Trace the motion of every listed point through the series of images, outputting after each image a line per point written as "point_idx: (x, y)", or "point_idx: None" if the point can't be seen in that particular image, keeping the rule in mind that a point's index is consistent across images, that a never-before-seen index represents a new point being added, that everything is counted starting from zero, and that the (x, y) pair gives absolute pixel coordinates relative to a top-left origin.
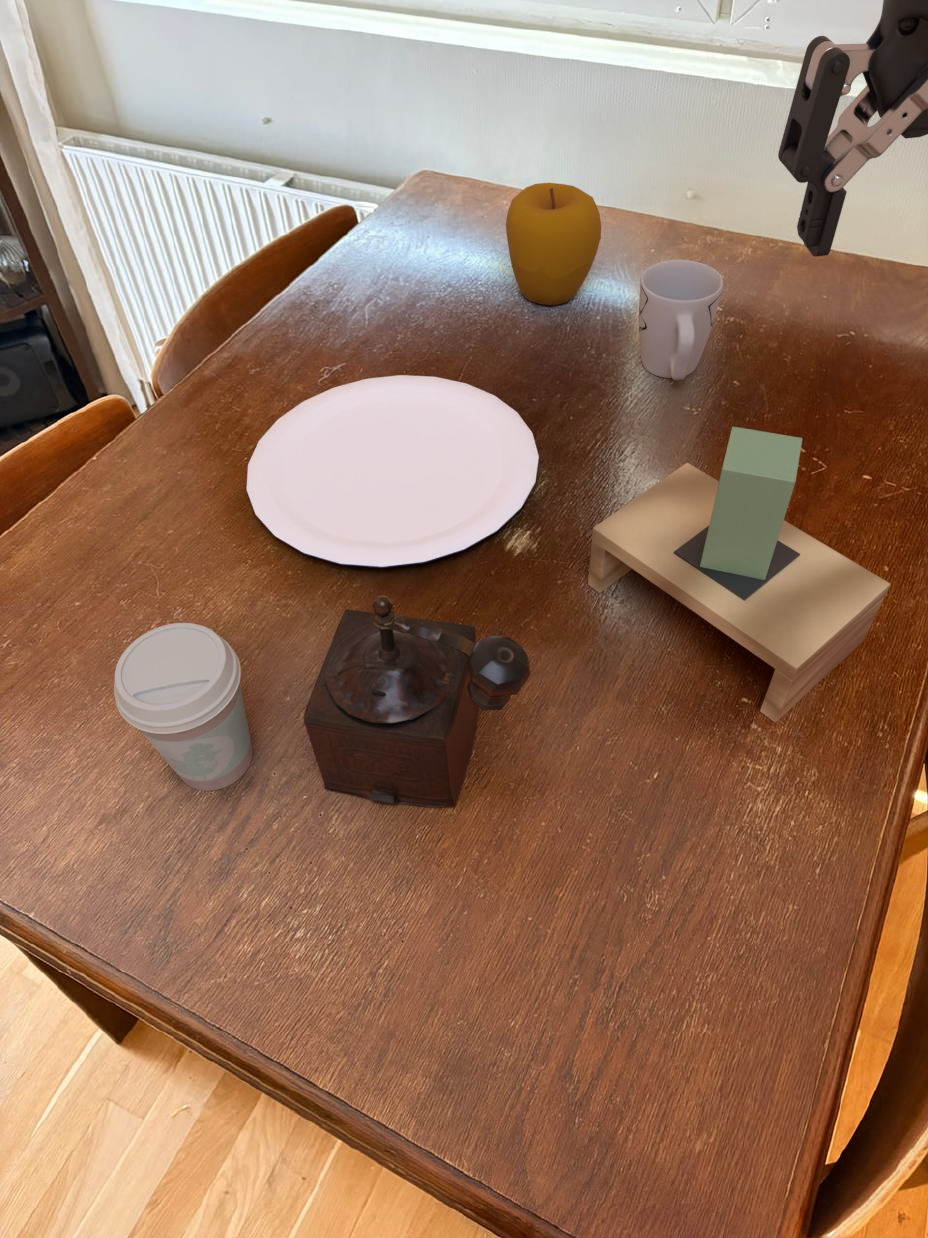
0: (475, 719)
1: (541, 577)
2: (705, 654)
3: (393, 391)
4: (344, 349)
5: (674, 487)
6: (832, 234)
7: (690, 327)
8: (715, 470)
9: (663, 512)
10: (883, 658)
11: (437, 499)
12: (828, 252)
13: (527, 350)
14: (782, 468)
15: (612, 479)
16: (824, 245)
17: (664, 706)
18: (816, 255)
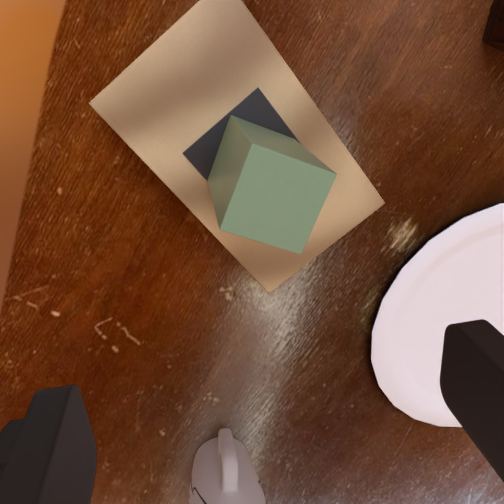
0: (498, 8)
1: (393, 190)
2: None
3: None
4: None
5: (290, 258)
6: (493, 351)
7: (227, 476)
8: (205, 321)
9: None
10: (86, 67)
11: (466, 282)
12: (456, 325)
13: (345, 464)
14: (261, 171)
15: (303, 310)
16: (486, 333)
17: (317, 20)
18: (480, 319)
